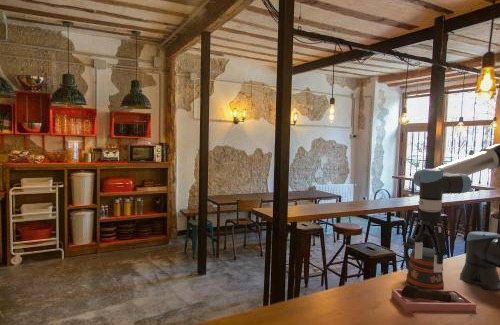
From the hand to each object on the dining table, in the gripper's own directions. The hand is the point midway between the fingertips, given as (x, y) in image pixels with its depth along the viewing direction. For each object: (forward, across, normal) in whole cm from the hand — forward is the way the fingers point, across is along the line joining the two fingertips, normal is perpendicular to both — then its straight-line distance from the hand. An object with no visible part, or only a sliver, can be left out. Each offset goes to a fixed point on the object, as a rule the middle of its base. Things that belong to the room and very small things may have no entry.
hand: (427, 264), depth 128 cm
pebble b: (+15, +2, +12) cm, 19 cm away
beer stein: (+16, -16, +6) cm, 24 cm away
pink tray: (+16, 0, +2) cm, 16 cm away
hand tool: (+14, +1, -1) cm, 14 cm away
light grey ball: (+15, -2, +12) cm, 19 cm away
